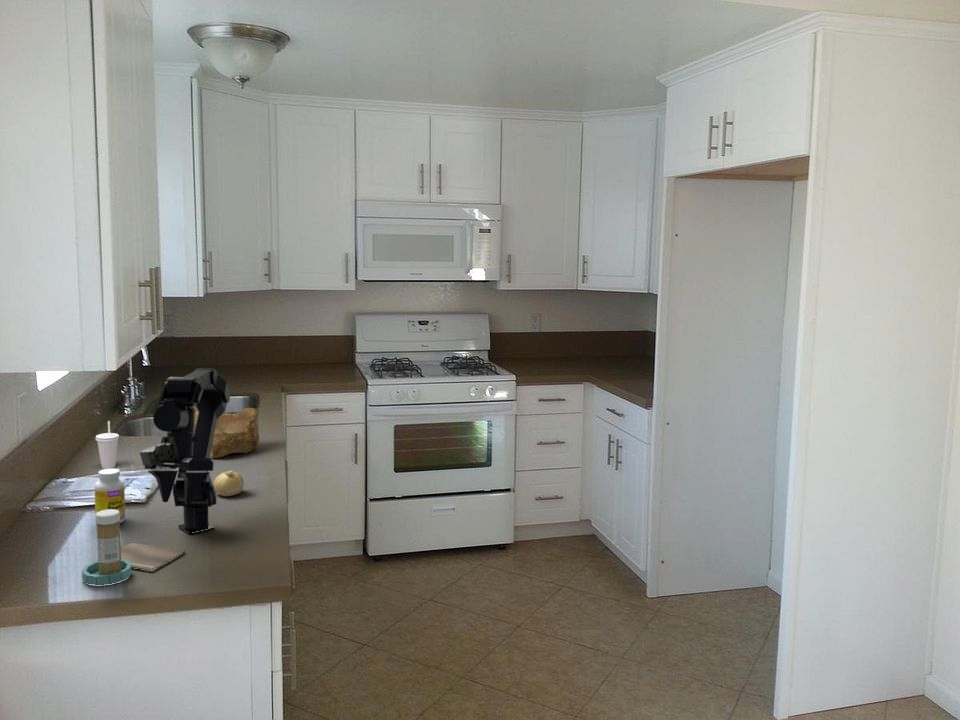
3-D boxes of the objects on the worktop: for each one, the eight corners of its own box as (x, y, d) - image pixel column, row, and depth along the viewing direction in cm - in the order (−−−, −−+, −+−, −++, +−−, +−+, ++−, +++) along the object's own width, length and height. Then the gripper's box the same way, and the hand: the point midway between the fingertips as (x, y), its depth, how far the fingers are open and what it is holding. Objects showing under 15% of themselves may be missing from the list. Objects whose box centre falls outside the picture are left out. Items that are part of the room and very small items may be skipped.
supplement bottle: (106, 528, 196) (104, 476, 194) (89, 522, 199) (87, 472, 197) (131, 520, 201) (129, 470, 199) (114, 515, 205) (112, 465, 203)
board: (132, 544, 186) (132, 542, 186) (184, 553, 183) (184, 550, 182) (97, 563, 176) (97, 559, 176) (152, 572, 172) (152, 569, 172)
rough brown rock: (183, 465, 251) (183, 419, 248) (184, 447, 267) (184, 403, 263) (261, 463, 259) (262, 418, 255) (258, 445, 274) (259, 403, 271)
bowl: (105, 565, 175) (104, 556, 175) (141, 571, 172) (140, 562, 172) (72, 582, 166) (72, 572, 166) (110, 589, 164) (109, 579, 163)
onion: (207, 495, 222) (206, 470, 221) (228, 488, 229) (228, 463, 228) (229, 501, 218) (228, 475, 217) (250, 493, 225) (250, 468, 224)
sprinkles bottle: (123, 569, 172) (121, 507, 170) (120, 578, 167) (117, 515, 165) (100, 570, 171) (97, 509, 169) (95, 579, 166) (93, 516, 164)
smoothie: (119, 469, 243) (118, 423, 241) (96, 470, 241) (94, 424, 238) (120, 463, 249) (118, 418, 247) (97, 464, 246) (95, 419, 244)
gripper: (124, 431, 183) (120, 502, 181) (170, 431, 171) (166, 506, 170) (170, 433, 191) (166, 500, 190) (216, 432, 180) (213, 504, 178)
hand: (176, 503), depth 182 cm, fingers open, 9 cm apart
